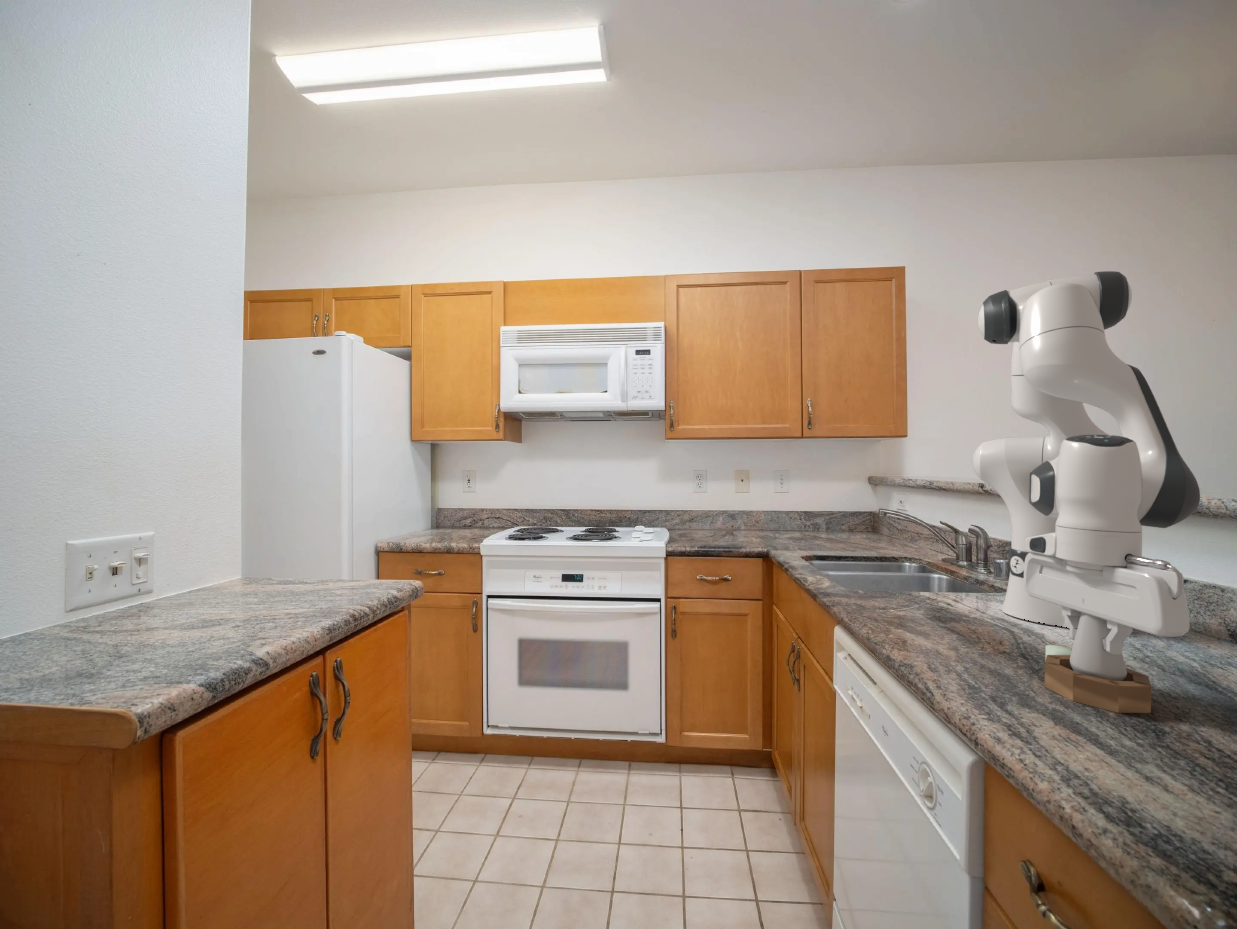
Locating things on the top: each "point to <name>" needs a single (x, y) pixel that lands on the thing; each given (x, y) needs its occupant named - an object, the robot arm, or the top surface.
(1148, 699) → the walnut ring
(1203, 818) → the top surface
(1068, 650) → the smooth pale green pebble
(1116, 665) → the salt shaker
